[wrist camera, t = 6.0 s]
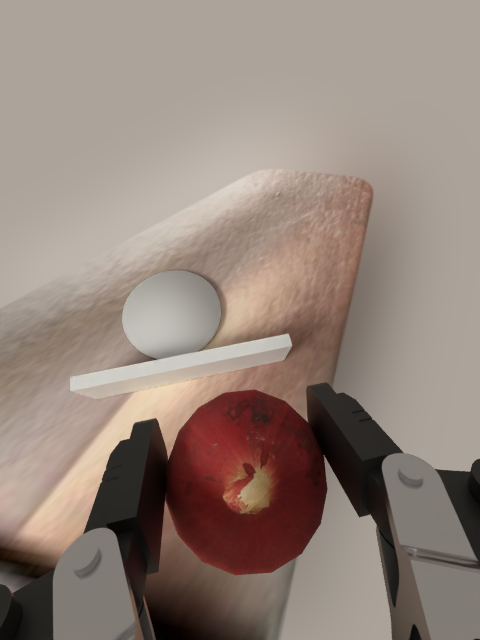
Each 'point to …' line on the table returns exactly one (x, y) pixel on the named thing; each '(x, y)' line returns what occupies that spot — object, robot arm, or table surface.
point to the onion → (246, 483)
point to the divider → (181, 368)
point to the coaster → (171, 314)
